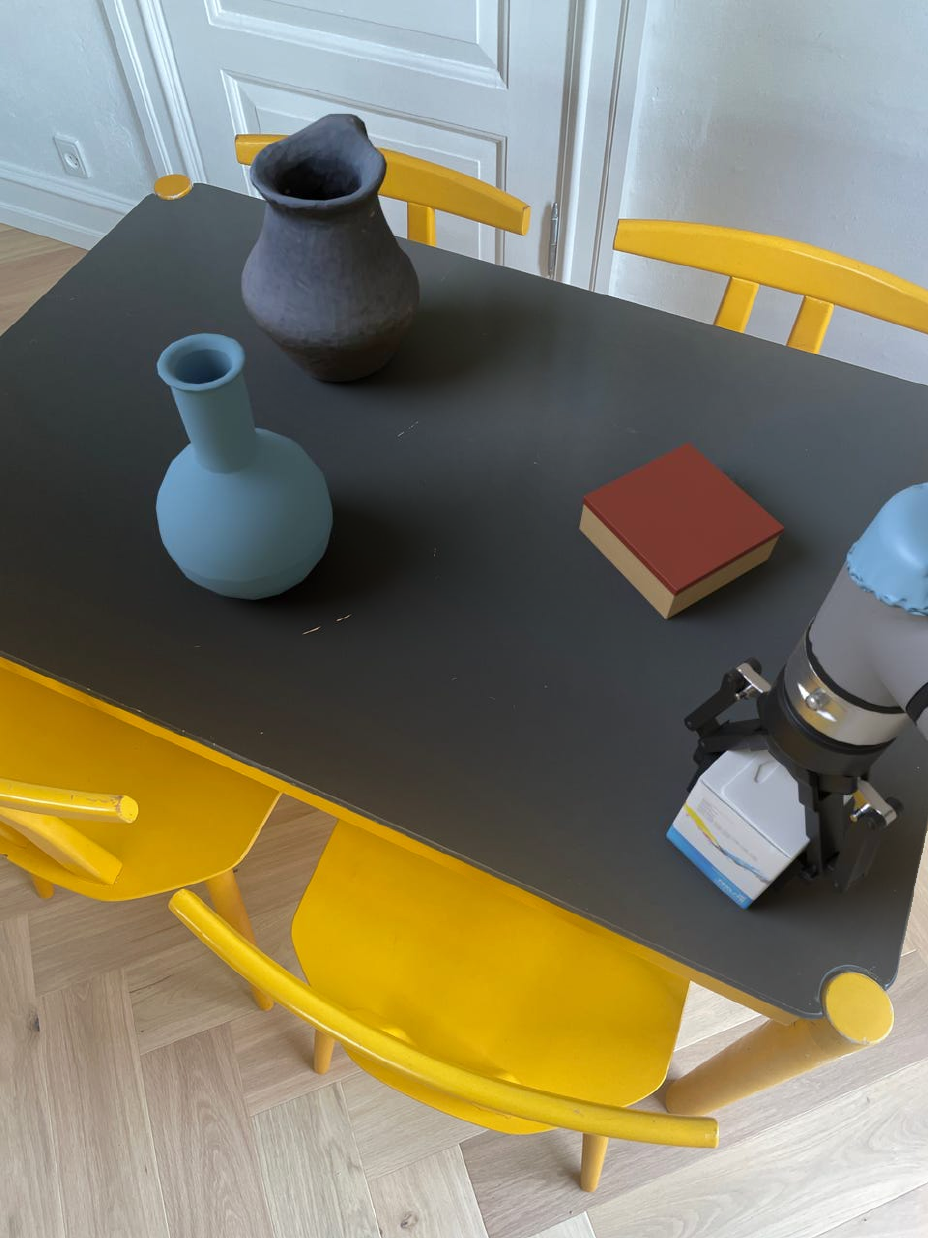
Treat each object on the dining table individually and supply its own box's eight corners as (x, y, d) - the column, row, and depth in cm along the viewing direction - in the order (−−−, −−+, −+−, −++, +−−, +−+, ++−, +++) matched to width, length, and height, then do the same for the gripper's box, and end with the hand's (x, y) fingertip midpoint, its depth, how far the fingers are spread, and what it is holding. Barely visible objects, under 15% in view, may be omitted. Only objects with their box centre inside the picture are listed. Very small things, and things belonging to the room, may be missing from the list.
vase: (364, 518, 92) (338, 318, 71) (301, 641, 83) (250, 454, 62) (223, 482, 94) (159, 280, 74) (148, 598, 85) (51, 405, 65)
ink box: (744, 913, 68) (790, 863, 59) (663, 835, 72) (694, 777, 62) (808, 844, 71) (862, 787, 62) (727, 773, 75) (767, 709, 66)
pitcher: (232, 395, 102) (176, 191, 82) (294, 288, 114) (259, 86, 94) (397, 424, 100) (383, 221, 79) (444, 311, 112) (441, 109, 91)
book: (769, 559, 89) (785, 527, 85) (665, 621, 84) (676, 590, 80) (678, 475, 96) (688, 442, 91) (577, 528, 91) (583, 496, 87)
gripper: (676, 599, 55) (621, 753, 74) (951, 878, 45) (807, 975, 64) (760, 550, 58) (686, 711, 76) (1039, 804, 48) (876, 919, 66)
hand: (741, 831), depth 70 cm, fingers closed on ink box, 9 cm apart
